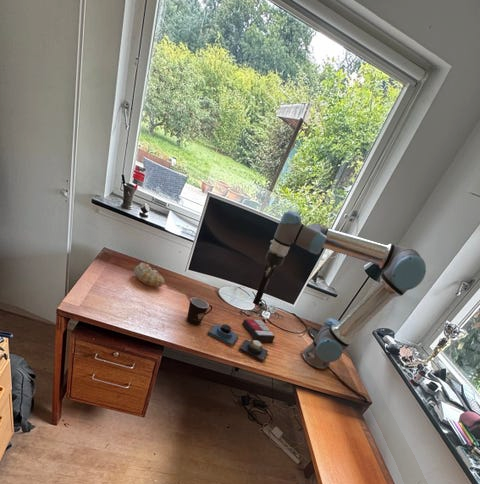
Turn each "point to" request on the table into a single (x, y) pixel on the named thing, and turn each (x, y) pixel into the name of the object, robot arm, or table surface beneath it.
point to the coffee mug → (197, 310)
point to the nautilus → (148, 275)
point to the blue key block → (223, 335)
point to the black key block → (253, 351)
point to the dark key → (226, 328)
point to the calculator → (258, 330)
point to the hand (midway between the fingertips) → (255, 303)
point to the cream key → (256, 344)
